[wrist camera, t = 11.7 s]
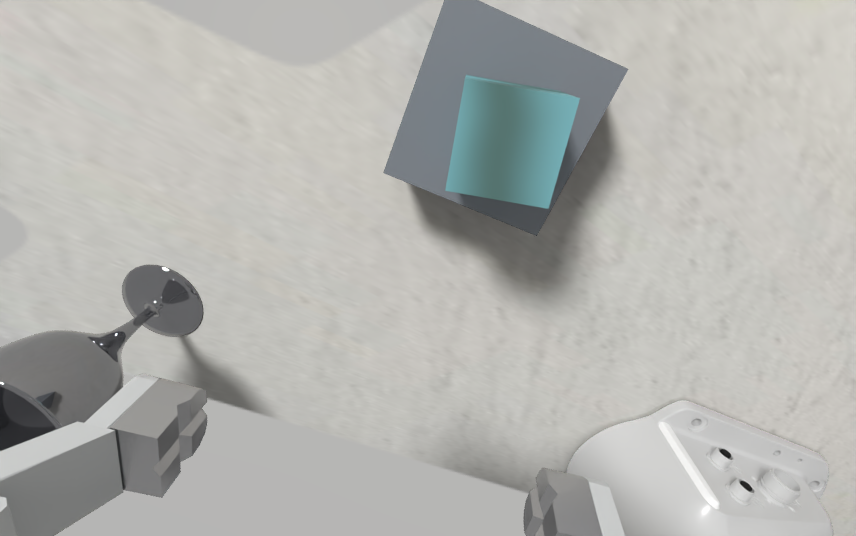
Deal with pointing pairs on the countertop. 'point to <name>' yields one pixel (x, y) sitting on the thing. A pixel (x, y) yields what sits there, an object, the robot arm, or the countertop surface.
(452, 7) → the charcoal block
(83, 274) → the countertop surface
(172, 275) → the wine glass
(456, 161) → the teal block
